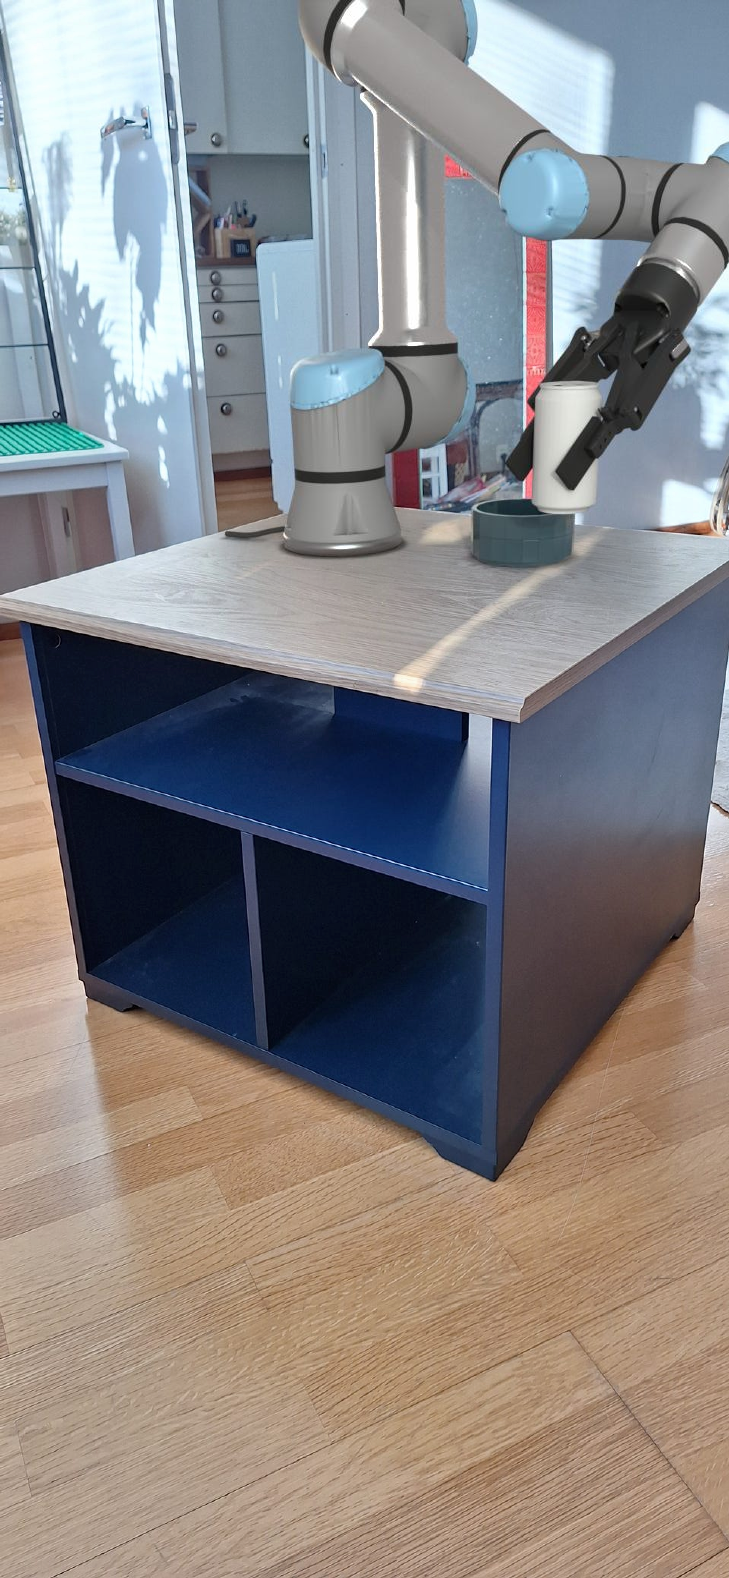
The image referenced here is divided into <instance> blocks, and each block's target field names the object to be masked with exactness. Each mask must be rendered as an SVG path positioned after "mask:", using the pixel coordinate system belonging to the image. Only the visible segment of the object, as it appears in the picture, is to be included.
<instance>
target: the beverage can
mask: <svg viewBox="0 0 729 1578" xmlns="http://www.w3.org/2000/svg"><path fill="white" fill-rule="evenodd" d="M540 383H541V382H540ZM540 383H539V384H540ZM599 387H600V382H598V383H596V382H583V381H564V382H547V383H541V384H540V388H541V389H540V391H539V393H538V394H537V396H536V398H535V413H534V415H535V421H534V448H533V468H532V476H531V477H532V479H531V498H532V500H531V501H532V504H534V505H535V506H536V507H537V508H538V510H539V511H541V512H545V513H551V514H575V515H576V514H583V513H585V512H587V511H589V509H590V508H591V507H593V506H595V504H596V503H597V497H598V496H597V495H598V478H599V462H600V459H599V458H600V457H599V458H598V459H595V460H594V462H593V463H592V465H591V466H590V468H589V469H588V471H587V472H586V474H585V475H584V477H583V478H582V480H581V481H580V482H579V484H578V485H577V487H576V488H575V490H574V491H573V490H568V489H567V487H566V486H565V485H564V483H563V482H562V480H561V479H560V478H559V476H558V475H557V474H556V472H555V470H556V469H557V467H558V466H559V464H560V463H561V461H562V460H563V459H564V457H565V456H566V454H567V453H568V451H569V450H570V448H571V447H572V445H573V444H574V442H575V441H576V439H577V438H578V436H579V435H580V434H581V432H582V431H583V429H584V428H585V426H586V425H587V423H588V422H589V420H590V419H591V417H592V416H596V417H599V419H600V420H601V421H602V416H601V415H600V413H599V412H598V408H599V409H600V410H601V407H603V399H604V397H603V395H602V393H601V392H600V389H599ZM601 411H602V410H601Z"/></svg>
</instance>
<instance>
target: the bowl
mask: <svg viewBox="0 0 729 1578" xmlns="http://www.w3.org/2000/svg"><path fill="white" fill-rule="evenodd" d="M531 500H532V497H515V498H513V497H512V498H499V499H492V500H485V501H481V502H479V503H478V502H477V503H475V504H474V505H472V506H471V512H470V513H471V515H470V517H471V518H470V519H471V521H470V522H471V524H470V529H471V530H470V553H471V555H472V556H474V557H475V559H476V560H477V561H479V562H480V563H484V564H487V565H491V566H497V567H508V568H536V567H546V566H552V565H557V564H561V563H563V562H566V561H567V560H568V559H569V557H571V556H572V555H573V553H574V551H575V549H574V548H575V530H576V529H575V527H576V514H551V513H545V512H541V511H539V510H538V508H537V507H536V506H535V505H534V504H532V501H531Z"/></svg>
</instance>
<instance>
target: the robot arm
mask: <svg viewBox="0 0 729 1578" xmlns="http://www.w3.org/2000/svg"><path fill="white" fill-rule="evenodd" d="M297 8H298V9H297V15H298V24H299V28H300V31H301V32H300V33H301V36H302V38H303V41H304V44H305V45H306V47H307V49H308V50H309V52H310V53H311V54H312V56H313V57H314V58H315V60H316V61H317V62H318V63H319V64H320V65H321V66H322V67H324V69H325V70H327V71H328V72H329V73H330V74H331V75H333V76H334V77H335V78H336V79H338V80H339V81H340V82H341V83H342V84H344V85H345V86H348V87H350V88H359V89H360V100H361V101H362V102H363V103H364V104H365V105H366V106H367V107H368V108H369V109H370V110H371V113H372V114H373V133H374V135H373V136H374V139H373V140H374V171H375V172H374V174H375V200H376V201H375V206H376V209H375V211H376V238H377V239H376V240H377V241H376V244H377V274H378V277H377V279H378V311H379V316H378V317H379V328H378V329H377V330H378V331H377V332H376V333H375V334H374V336H372V338H371V339H370V340H369V341H368V348H367V347H366V348H365V347H362V348H349V349H342V350H341V349H340V350H337V351H328V352H323V353H318V354H314V355H311V356H308V357H304V358H302V359H300V360H298V361H297V362H296V363H295V364H294V365H293V367H292V369H291V371H290V374H289V395H288V404H289V407H290V408H289V409H290V421H291V423H290V424H291V434H292V435H291V437H292V452H293V453H292V454H293V469H294V470H293V471H294V472H293V473H294V490H293V493H292V496H291V501H290V505H289V509H288V514H287V518H286V524H285V525H281V526H276V527H270V528H265V529H261V530H256V531H249V532H246V531H245V532H243V531H233V530H225V531H224V536H225V537H227V538H237V539H253V538H259V537H263V536H268V535H272V534H279V533H283V544H284V545H283V546H284V548H285V549H286V550H288V551H290V552H293V553H297V554H301V555H308V556H318V557H319V556H320V557H321V556H322V557H344V556H345V557H346V556H347V557H348V556H349V557H350V556H360V555H361V556H362V555H369V554H376V553H381V552H385V551H388V550H391V549H394V548H397V547H398V546H400V544H402V528H401V523H400V521H399V520H398V516H397V513H396V509H395V506H394V503H393V502H394V501H393V500H392V497H391V494H390V491H389V488H388V485H387V476H386V474H387V473H386V469H387V468H386V455H389V454H394V453H400V452H405V451H411V450H416V449H418V450H428V449H432V448H435V447H438V445H443V444H446V443H449V442H451V441H453V440H454V439H456V438H457V437H459V435H460V434H461V433H462V432H463V431H464V430H465V429H466V427H467V425H468V424H469V422H470V420H471V418H472V416H473V413H474V409H475V406H476V400H477V386H476V379H475V376H474V373H473V371H471V370H470V369H469V364H468V363H467V361H466V360H465V359H464V358H462V357H461V356H459V339H458V338H457V336H455V335H454V333H453V332H452V331H451V330H450V329H449V328H448V325H447V265H446V264H447V246H446V245H447V242H446V241H447V237H446V230H447V228H446V224H447V223H446V219H447V218H446V213H447V212H446V157H448V158H449V159H450V160H451V161H452V162H454V163H455V164H456V165H457V166H459V168H460V169H462V170H463V171H464V172H466V173H467V174H468V175H469V176H471V177H472V178H473V179H474V180H475V181H477V182H478V183H479V184H480V185H481V186H483V187H484V188H485V189H486V190H488V191H489V192H490V193H491V194H492V195H494V196H495V197H496V198H497V199H498V200H499V201H498V204H499V209H500V211H501V213H502V215H503V218H504V220H505V221H504V222H505V224H506V226H507V227H508V228H509V229H510V230H511V231H512V232H513V233H515V234H516V235H517V236H520V237H523V238H527V239H534V240H537V241H541V242H554V241H560V240H561V241H562V240H563V241H564V240H570V241H571V240H593V241H594V240H596V241H597V240H599V241H602V240H603V241H604V240H605V241H633V242H640V243H647V244H648V243H649V246H648V247H647V249H646V250H645V252H643V254H642V255H641V257H640V258H639V260H638V262H637V265H636V266H635V268H634V269H632V271H631V273H629V276H628V277H627V278H626V280H625V281H624V283H623V284H622V286H621V287H620V289H619V290H618V292H617V293H616V295H615V299H614V308H613V312H612V313H613V314H612V315H611V316H610V318H608V320H606V321H605V322H604V323H602V325H601V326H600V327H599V329H596V330H592V331H588V330H587V328H586V327H585V326H579V327H578V328H577V329H576V330H575V331H574V333H573V336H572V338H571V340H570V343H569V344H568V346H567V348H566V349H565V350H564V351H563V353H562V354H561V356H559V358H558V359H557V360H556V361H555V363H554V364H553V366H552V367H551V368H550V370H549V371H548V372H547V373H546V375H545V376H544V377H543V379H542V380H541V381H540V383H539V384H538V385H537V387H536V388H535V389H534V390H533V392H532V393H531V394H530V395H529V396H528V399H527V400H526V403H527V405H528V407H529V408H530V409H531V410H532V411H533V413H534V416H533V417H532V419H531V420H530V421H529V423H528V425H527V426H526V427H525V429H524V430H523V431H522V433H521V435H520V438H519V441H518V443H517V444H516V446H515V447H514V449H512V451H511V453H510V455H509V456H508V457H507V459H506V460H505V461H504V465H505V466H506V468H507V469H508V470H509V471H510V472H511V474H512V475H513V476H514V478H515V479H516V480H517V482H522V483H523V482H524V481H525V480H526V478H527V477H528V475H529V474H530V472H532V471H533V448H534V421H535V398H536V396H537V394H538V393H539V391H540V389H541V388H540V384H541V383H547V382H564V381H583V382H596V383H600V381H601V380H604V381H605V380H608V379H609V378H610V377H611V376H612V375H613V374H614V373H615V372H616V373H615V375H614V378H613V381H612V384H611V385H610V386H611V387H610V389H609V392H608V395H607V398H606V401H605V403H604V406H602V407H601V410H602V411H601V410H600V409H599V408H598V412H599V413H600V415H601V420H600V419H599V417H596V416H592V417H591V419H590V420H589V422H588V423H587V425H586V426H585V428H584V429H583V431H582V432H581V434H580V435H579V436H578V438H577V439H576V441H575V442H574V444H573V445H572V447H571V448H570V450H569V451H568V453H567V454H566V456H565V457H564V459H563V460H562V461H561V463H560V464H559V466H558V467H557V469H556V470H555V472H556V474H557V475H558V476H559V478H560V479H561V480H562V482H563V483H564V485H565V486H566V487H567V489H568V490H573V491H574V490H575V488H576V487H577V485H578V484H579V482H580V481H581V480H582V478H583V477H584V475H585V474H586V472H587V471H588V469H589V468H590V466H591V465H592V463H593V462H594V460H595V459H598V458H600V457H602V456H603V454H604V453H605V452H606V450H607V448H608V447H609V445H610V444H611V443H612V441H613V440H614V439H615V437H616V435H617V436H618V435H620V434H621V433H623V431H624V430H626V429H630V431H632V432H637V431H638V430H640V429H641V428H642V426H643V425H644V423H645V422H646V419H647V418H648V416H649V415H650V413H651V411H652V410H653V408H654V406H655V404H656V403H657V401H658V400H659V398H660V396H661V394H662V392H663V391H664V389H665V387H666V386H667V384H668V383H669V380H670V379H671V378H672V376H673V374H674V372H675V371H676V369H677V367H678V366H679V365H680V364H681V363H682V362H683V361H684V360H685V359H686V358H687V357H688V356H689V355H690V354H691V352H692V348H691V346H690V345H689V342H688V341H687V339H686V338H685V335H684V334H683V333H684V331H685V330H686V329H687V327H688V326H689V324H690V323H691V322H692V320H693V318H694V317H695V316H696V314H697V311H698V309H699V308H700V306H702V304H703V303H704V301H705V300H706V299H707V297H708V296H709V294H710V292H712V290H713V288H714V286H716V284H717V282H718V281H719V279H720V278H721V276H722V275H723V273H724V272H725V270H726V269H727V268H728V265H729V141H726V142H724V143H722V144H720V145H719V146H718V147H717V148H716V149H715V150H714V151H713V153H711V154H709V155H708V157H707V160H706V161H705V162H704V163H694V162H670V161H664V160H657V159H650V158H639V157H633V156H629V155H619V154H616V155H615V154H614V155H604V154H603V155H602V154H593V153H583V152H579V151H577V150H576V149H574V148H573V147H572V146H570V145H569V144H568V143H566V142H565V141H564V140H562V139H561V138H560V137H558V136H557V135H555V134H554V133H553V132H551V130H550V129H549V128H547V126H545V125H544V124H542V123H541V122H540V121H538V120H537V119H536V118H535V117H534V116H533V115H531V114H529V113H528V111H526V110H524V109H523V108H522V107H521V106H519V105H518V104H517V103H516V102H514V101H513V100H512V99H510V98H509V97H508V96H507V95H505V94H504V93H503V92H502V91H500V90H499V89H498V88H496V87H495V86H494V85H493V84H491V83H490V82H489V81H488V80H486V79H485V78H484V77H482V76H481V75H480V74H479V73H478V72H477V71H475V70H474V69H472V68H471V67H469V65H470V62H469V59H470V57H473V56H474V54H475V50H476V45H477V40H478V30H479V29H478V28H479V26H478V14H477V7H476V4H475V0H298V7H297ZM635 409H636V410H635Z"/></svg>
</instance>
